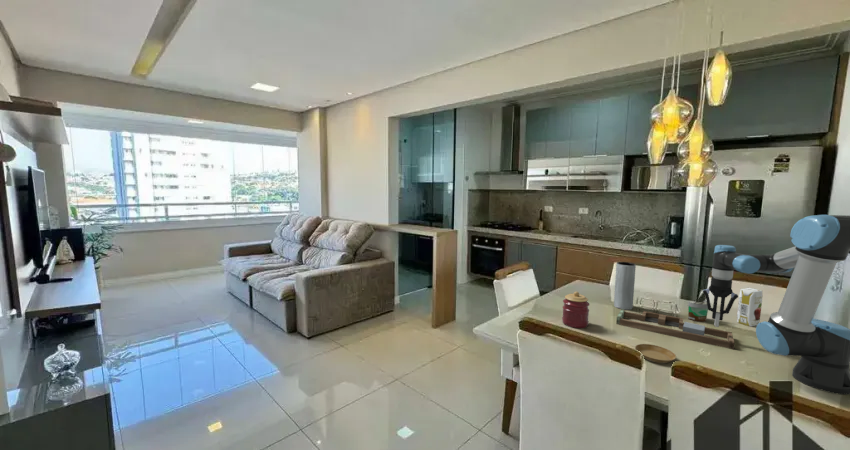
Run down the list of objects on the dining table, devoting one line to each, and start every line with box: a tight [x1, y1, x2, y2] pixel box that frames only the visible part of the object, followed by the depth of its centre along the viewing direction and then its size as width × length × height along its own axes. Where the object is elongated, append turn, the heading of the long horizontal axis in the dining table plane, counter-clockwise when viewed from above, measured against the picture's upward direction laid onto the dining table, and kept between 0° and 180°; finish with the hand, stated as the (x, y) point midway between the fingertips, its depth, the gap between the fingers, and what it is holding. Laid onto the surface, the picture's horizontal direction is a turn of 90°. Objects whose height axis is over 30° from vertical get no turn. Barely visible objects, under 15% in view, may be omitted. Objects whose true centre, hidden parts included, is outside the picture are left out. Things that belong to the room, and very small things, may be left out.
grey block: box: [682, 321, 706, 336], centre depth 169 cm, size 8×8×5 cm
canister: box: [561, 291, 590, 329], centre depth 183 cm, size 13×13×18 cm
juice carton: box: [736, 287, 763, 327], centre depth 184 cm, size 8×9×19 cm
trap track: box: [615, 309, 735, 350], centre depth 178 cm, size 22×47×4 cm, turn 52°
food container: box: [687, 300, 709, 323], centre depth 188 cm, size 12×6×10 cm, turn 105°
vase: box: [613, 261, 637, 311], centre depth 209 cm, size 10×10×27 cm
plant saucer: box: [634, 343, 677, 364], centre depth 148 cm, size 15×15×3 cm
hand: (716, 325), depth 164 cm, fingers closed
